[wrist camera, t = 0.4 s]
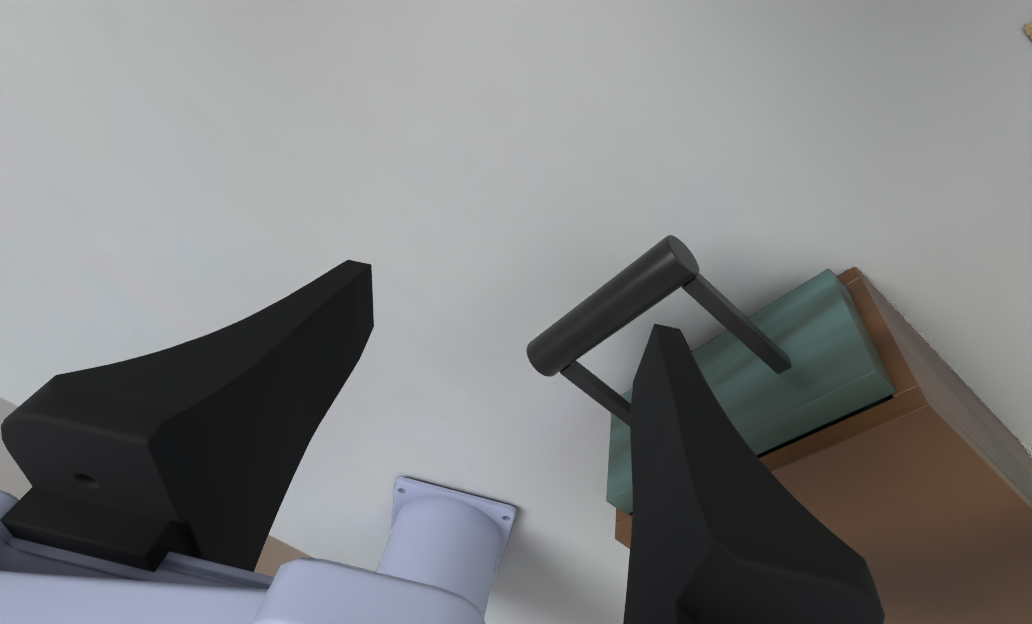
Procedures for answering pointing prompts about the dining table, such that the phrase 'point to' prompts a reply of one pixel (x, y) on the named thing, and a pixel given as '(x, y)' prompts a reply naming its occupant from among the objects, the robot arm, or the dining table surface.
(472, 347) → the dining table surface
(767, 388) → the green drawer
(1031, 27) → the architectural model on board
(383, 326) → the dining table surface
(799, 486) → the cabinet
